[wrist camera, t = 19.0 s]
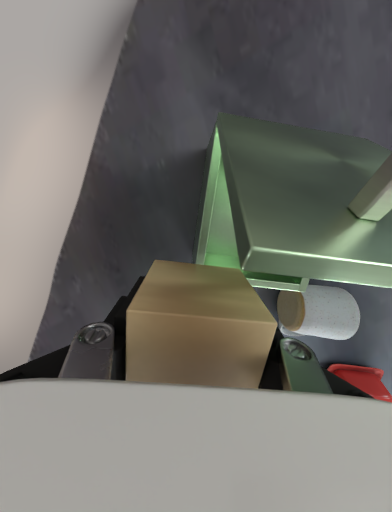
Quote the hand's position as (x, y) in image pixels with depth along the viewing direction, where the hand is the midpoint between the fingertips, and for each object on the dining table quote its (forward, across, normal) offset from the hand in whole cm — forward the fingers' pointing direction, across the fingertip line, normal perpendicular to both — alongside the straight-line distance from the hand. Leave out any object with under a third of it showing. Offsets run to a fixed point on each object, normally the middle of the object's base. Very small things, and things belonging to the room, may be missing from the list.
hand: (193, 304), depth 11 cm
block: (0, 0, 0) cm, 0 cm away
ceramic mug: (+18, -20, +9) cm, 28 cm away
